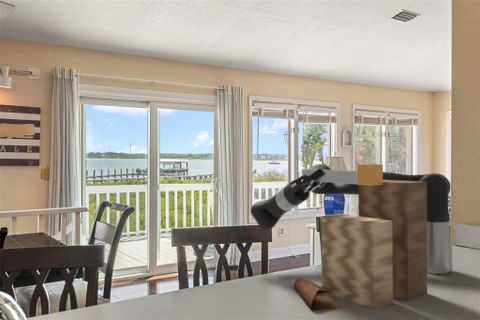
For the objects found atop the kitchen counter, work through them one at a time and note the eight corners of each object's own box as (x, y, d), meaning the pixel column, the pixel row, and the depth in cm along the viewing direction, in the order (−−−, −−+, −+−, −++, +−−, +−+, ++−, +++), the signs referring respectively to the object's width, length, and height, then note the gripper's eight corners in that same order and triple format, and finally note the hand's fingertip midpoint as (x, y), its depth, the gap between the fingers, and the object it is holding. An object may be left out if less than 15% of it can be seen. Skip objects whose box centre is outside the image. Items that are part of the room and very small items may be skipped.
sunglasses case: (343, 308, 107) (330, 287, 107) (320, 324, 106) (307, 302, 106) (320, 287, 125) (309, 268, 125) (300, 300, 124) (289, 281, 124)
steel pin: (299, 180, 130) (299, 162, 130) (311, 179, 134) (311, 162, 133) (370, 185, 109) (370, 164, 109) (382, 184, 113) (382, 164, 113)
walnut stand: (359, 286, 126) (358, 180, 125) (378, 280, 132) (378, 179, 131) (407, 300, 113) (407, 183, 113) (427, 293, 119) (426, 181, 119)
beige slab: (322, 291, 122) (321, 216, 122) (339, 285, 127) (339, 213, 126) (374, 308, 107) (374, 223, 107) (392, 302, 112) (392, 220, 112)
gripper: (272, 186, 134) (305, 160, 122) (302, 184, 143) (337, 159, 131) (279, 207, 131) (315, 183, 119) (311, 204, 140) (346, 181, 128)
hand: (326, 171), depth 125 cm, fingers closed on steel pin, 3 cm apart
